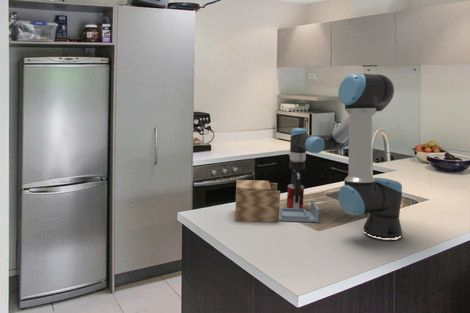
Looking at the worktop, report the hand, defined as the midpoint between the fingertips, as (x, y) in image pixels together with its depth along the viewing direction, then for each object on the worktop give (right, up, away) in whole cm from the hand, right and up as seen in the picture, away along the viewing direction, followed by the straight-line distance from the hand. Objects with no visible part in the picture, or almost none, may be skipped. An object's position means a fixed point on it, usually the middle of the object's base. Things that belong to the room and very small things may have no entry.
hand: (294, 206), depth 207 cm
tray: (-2, -3, -15) cm, 16 cm away
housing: (-19, -3, -15) cm, 25 cm away
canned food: (0, -1, 0) cm, 1 cm away
